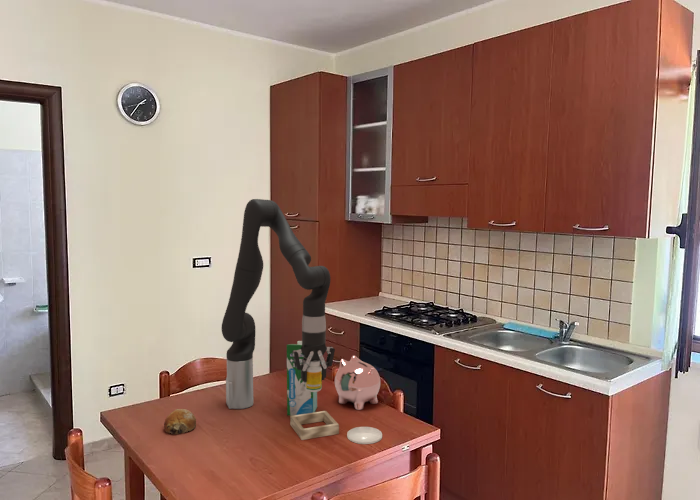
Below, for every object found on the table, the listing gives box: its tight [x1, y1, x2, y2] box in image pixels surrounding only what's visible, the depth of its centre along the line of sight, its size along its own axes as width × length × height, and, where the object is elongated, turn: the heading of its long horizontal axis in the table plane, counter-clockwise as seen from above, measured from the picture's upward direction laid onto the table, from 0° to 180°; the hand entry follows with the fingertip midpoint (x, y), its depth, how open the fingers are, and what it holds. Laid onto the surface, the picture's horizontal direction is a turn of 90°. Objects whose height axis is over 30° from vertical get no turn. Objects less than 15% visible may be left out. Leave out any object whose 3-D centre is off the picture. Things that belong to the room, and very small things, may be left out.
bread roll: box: [163, 408, 197, 435], centre depth 180 cm, size 10×10×8 cm
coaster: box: [346, 426, 383, 445], centre depth 174 cm, size 11×11×1 cm
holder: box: [289, 410, 340, 441], centre depth 179 cm, size 12×12×3 cm
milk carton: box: [286, 340, 318, 416], centre depth 193 cm, size 9×9×25 cm
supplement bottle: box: [305, 360, 323, 393], centre depth 178 cm, size 5×5×10 cm
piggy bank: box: [334, 354, 381, 411], centre depth 203 cm, size 15×18×16 cm
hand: (313, 380), depth 178 cm, fingers closed on supplement bottle, 5 cm apart
